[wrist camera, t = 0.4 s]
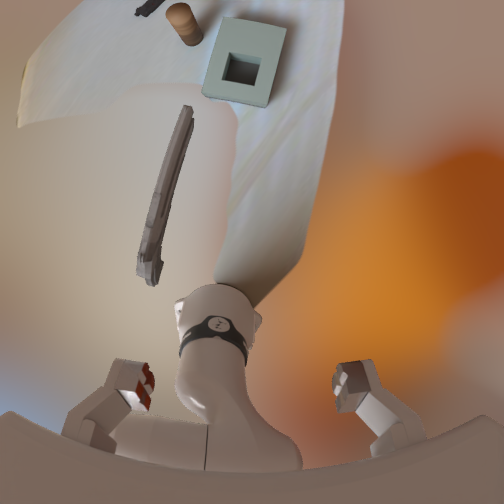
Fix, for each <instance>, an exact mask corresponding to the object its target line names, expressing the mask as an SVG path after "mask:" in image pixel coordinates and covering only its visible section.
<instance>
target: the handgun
mask: <svg viewBox="0 0 504 504" xmlns="http://www.w3.org/2000/svg"><path fill="white" fill-rule="evenodd" d="M163 1H164V0H148V1H147V2H146V3H145V4H144V5H143V6H142V7H139V8H137V9H136V13H135V14H134V15H136V16H139V15H140V14H141V15H142V16H144V17H147V16H148V15H149V14H150V13H151V12H153V11H154V10H155V9H156V8H157V7H158V6H159V5H160V4H161V3H162V2H163Z"/></svg>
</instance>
